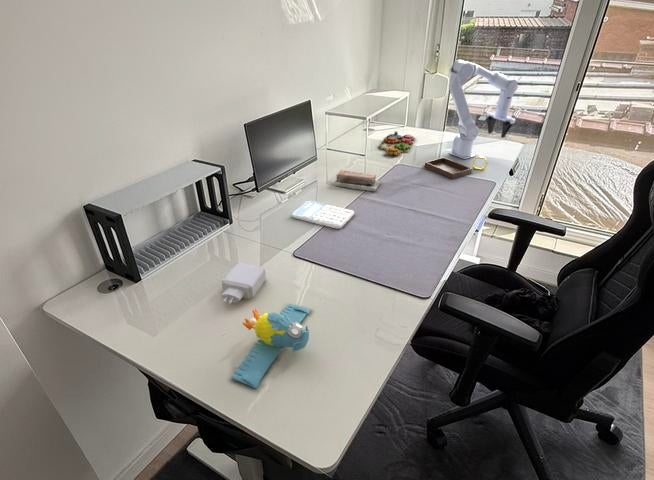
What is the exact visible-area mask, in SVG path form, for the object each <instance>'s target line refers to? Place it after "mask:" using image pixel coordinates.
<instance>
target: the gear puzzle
mask: <svg viewBox="0 0 654 480" xmlns="http://www.w3.org/2000/svg"><path fill="white" fill-rule="evenodd" d="M415 141H416V137H415V136H413V135H412V134H404V135H401V134H399V132H398V131H397V130H395V131H394V132H393V133H389V134H387V135H386V136H385V137H384V139H383V140H382V141H381V144H379V145H378V148H380V150H384V153H385V154H386V155H390V156H392V155H393V156H397V155H399V156H400V155H401V154H402V153H409V151H410V149H411V148H412V146H413V144H414V142H415Z"/></svg>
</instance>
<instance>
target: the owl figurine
mask: <svg viewBox="0 0 654 480" xmlns="http://www.w3.org/2000/svg"><path fill="white" fill-rule="evenodd" d="M251 311H252V314H253V317H252V318H250V319H248V318H247V317H245V318H244V321H243V322H242V325H243V326H244V327H245V328H246V329H248V331H250V330H252V329H254V331H255V334H256V337H257V338H258V340H257V341H256V342H257V343H254V345H253V346H254V347H253V346H252V347H251V351H249V352H248V353H247V354H248V355H245V357H244V359H243V360H242V361H241V364H239V365H238V366H237V369H235V371H234V374H232V375H231V378H232V379H233V380H235V381H237V382H239V383H241V384H244V385H247V386H249V387H252V388H253V389H255V390H256V389H258V387H259V386H260V384H261V383H260V381H262V379H263V377H264V376H265V374H266V373H267V371H268V370H269V368H270V367H271V365H272V364H273V362H274V361H275V359H276V358H277V356H278V355H279V353H280V352H281V350H282V349H283V348H291V350H292V353H295V352H297V351H299V350H302V349H304V348H305V347H306V346H307V344H308V343H309V338H310V330H309V326H308V324H306V325H305V327H304V326H303V325H301V323H302V322H303V320H304V319H305V318H306V317H307V315H309V314H310V313H311V311H310V310H309V309H308V308H305V307H303V306H299V305H295V304H291V303H288V304H287V306H285V307H284V309H282V311H280V312H279V313H278V312H274V311H271V312H265V313H263V314H262V315H260V314H259V311H258V309H257V308H254V309H252V310H251Z"/></svg>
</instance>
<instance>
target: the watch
mask: <svg viewBox="0 0 654 480" xmlns="http://www.w3.org/2000/svg"><path fill="white" fill-rule="evenodd" d="M477 160H484V161H485V163H484V165H483V166H482V167H478V166H477V167H476V166H475V162H476V161H477ZM487 164H488V162H487V159H486V157H485V156H484V155H478V156H477V157H475V158H474V159H473V160H472V167H473V168H474V170H480V171H481V170H484V169H485V168H486V167H487V166H488V165H487Z"/></svg>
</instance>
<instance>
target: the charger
mask: <svg viewBox="0 0 654 480" xmlns="http://www.w3.org/2000/svg"><path fill="white" fill-rule="evenodd" d="M266 274H267V273H266V269H265V268H264V267H262V266H257V265H253V264H252V265H251V264H247V263H242V262H238V263H236V264H235V265H234V266H233V267H232V268H231V270H230V271H229V272H228V273H227V274H226V275H225V277H223V279H222V280H221V286H222V290H223V292H222V294H221V295H220V297H221V298H222V299H223V300H222V303H225V302H226V301H228V304H231V303H232V302H233V303H236V302H240V301H241V299H252V298H254V297H255V296H256V294H257V292H258V291H259V289H260V288H261V287H262V285H263V284H264V283H265V281H266V280H267V275H266Z"/></svg>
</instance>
